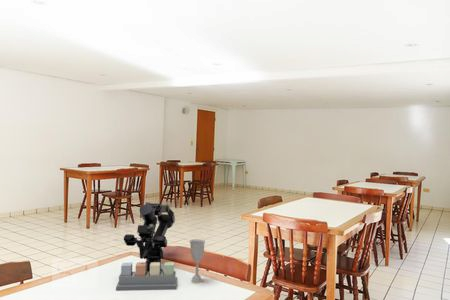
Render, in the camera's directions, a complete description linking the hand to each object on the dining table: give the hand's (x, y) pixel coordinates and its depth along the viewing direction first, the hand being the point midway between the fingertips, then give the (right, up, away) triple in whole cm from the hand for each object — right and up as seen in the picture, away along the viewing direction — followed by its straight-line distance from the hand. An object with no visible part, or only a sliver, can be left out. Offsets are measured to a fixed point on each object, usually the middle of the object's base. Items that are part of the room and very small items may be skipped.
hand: (141, 258), depth 159 cm
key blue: (-6, -8, 0) cm, 10 cm away
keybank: (+3, -12, +1) cm, 12 cm away
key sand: (+6, -8, +1) cm, 10 cm away
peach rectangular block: (0, -8, 0) cm, 8 cm away
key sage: (+12, -8, +1) cm, 14 cm away
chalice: (+24, -12, +6) cm, 27 cm away
